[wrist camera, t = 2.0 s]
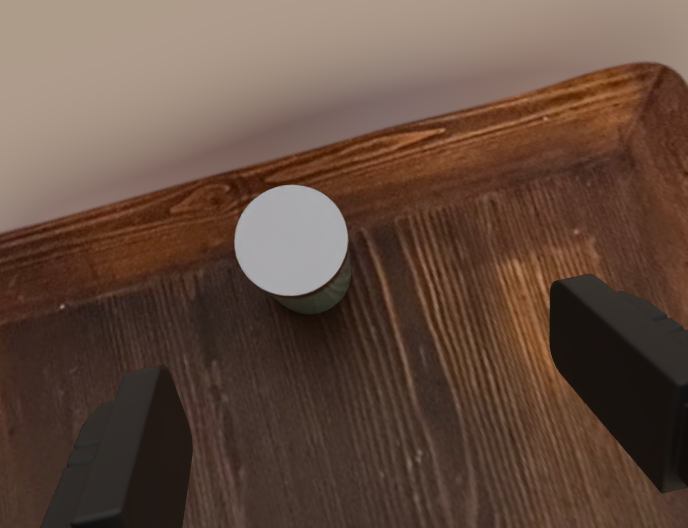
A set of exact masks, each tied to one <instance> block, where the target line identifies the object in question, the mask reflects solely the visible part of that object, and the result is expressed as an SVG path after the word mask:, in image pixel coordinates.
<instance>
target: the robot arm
mask: <svg viewBox="0 0 688 528" xmlns="http://www.w3.org/2000/svg"><path fill="white" fill-rule="evenodd" d="M550 351H551V355H552V358H553V361H554V363H555V366H556V368H557V369H558V371H559V372H560V374H561V375H562V376H563V377H564V378H565V380H566V381H567V382H568V383H569V384H570V385H571V387H572V388H573V389H574V390H575V391H576V393H577V394H578V395H579V396H580V397H581V398H582V400H583V401H584V402H585V403H586V404H587V406H588V407H589V408H590V409H591V410H592V411H593V413H594V414H595V415H596V416H597V417H598V419H599V420H600V421H601V422H602V423H603V424H604V426H605V427H606V428H607V429H608V430H609V432H610V433H611V434H612V435H613V436H614V437H615V439H616V440H617V441H618V442H619V443H620V445H621V446H622V447H623V448H624V449H625V451H626V452H627V453H628V454H629V455H630V456H631V458H632V459H633V460H634V461H635V462H636V464H637V465H638V466H639V467H640V468H641V469H642V471H643V472H644V473H645V474H646V475H647V477H648V478H649V479H650V480H651V481H652V482H653V484H654V485H655V486H656V487H657V488H658V490H659V491H660V492H661V493H662V494H663V493H667V492H671V491H675V490H679V489H683V488H687V487H688V330H683V327H682V326H681V325H680V324H678V323H677V322H676V321H674V320H673V319H672V318H667V315H666V314H665V313H663V312H662V311H661V310H659V309H658V308H657V307H655V306H654V305H652V304H651V303H650V302H648V301H646V300H644V299H641V298H639V297H636V296H633V295H631V294H628V293H626V292H623V291H620V292H616V291H614V290H613V289H612V288H610V287H609V286H608V285H607V284H605V283H604V282H603V281H601V280H600V279H599V278H597V277H596V276H595V275H593V274H585V275H581V276H576V277H571V278H567V279H562V280H557V281H554V282H553V283H552V285H551V289H550ZM74 448H75V449H74V450H72V452H71V454H70V457H69V459H68V462H67V468H65V469H64V471H63V473H62V476H61V478H60V481H59V483H58V485H57V488H56V490H55V493H54V495H53V497H52V500H51V502H50V505H49V507H48V509H47V512H46V514H45V517H44V519H43V521H42V524H41V526H40V528H182V525H183V518H184V511H185V503H186V496H187V489H188V482H189V475H190V468H191V461H192V452H193V446H192V436H191V430H190V426H189V423H188V420H187V417H186V415H185V412H184V409H183V406H182V404H181V401H180V398H179V395H178V393H177V390H176V387H175V385H174V382H173V379H172V376H171V374H170V371H169V370H168V368H167V367H166V366H165V365H159V366H154V367H149V368H145V369H140V370H135V371H131V372H126V373H125V374H124V375H123V378H122V380H121V383H120V386H119V389H118V391H117V394H116V397H115V400H114V401H112V402H107V403H103V404H101V405H100V406H99V407H98V408H97V409H96V410H95V412H94V413H93V414H92V415H91V416H90V417H89V418H88V419H87V421H86V422H85V423H84V424H83V426H82V428H81V430H80V433H79V435H78V438H77V440H76V442H75V445H74Z"/></svg>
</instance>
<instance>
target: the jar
mask: <svg viewBox="0 0 688 528" xmlns="http://www.w3.org/2000/svg"><path fill="white" fill-rule="evenodd" d="M234 251H235V255H236V259H237V262H238V264H239V266H240V268H241V270H242V272H243V273H244V274H245V276H246V277H247V278H248V279H249V280H250V281H251V282H252V283H253V284H254V285H256V286H257V287H258V288H259V289H261V290H262V291H264V292H266V293H268V294H269V295H270V296H272V297H273V298H274V299H276V300H277V301H278V302H279V303H281V304H282V305H283V306H285V307H286V308H288V309H290V310H292V311H294V312H297V313H302V314H316V313H320V312H323V311H326V310H328V309H330V308H332V307H333V306H334V305H336V304H337V303H338V302H339V301H340V300H341V299H342V297H343V296H344V295H345V293H346V291H347V289H348V287H349V284H350V280H351V263H350V254H349V235H348V228H347V224H346V221H345V218H344V216H343V214H342V212H341V211H340V209H339V208H338V206H337V205H336V204H335V203H334V202H333V201H332V200H331V199H330V198H329V197H328V196H326V195H325V194H324V193H322V192H320V191H318V190H316V189H314V188H311V187H308V186H303V185H282V186H278V187H274V188H272V189H269V190H267V191H265V192H263V193H261V194H260V195H258V196H257V197H256V198H254V199H253V200H252V201H251V202H250V203H249V204H248V206H247V207H246V208H245V209H244V211H243V212H242V214H241V216H240V218H239V220H238V222H237V225H236V229H235V234H234Z"/></svg>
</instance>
